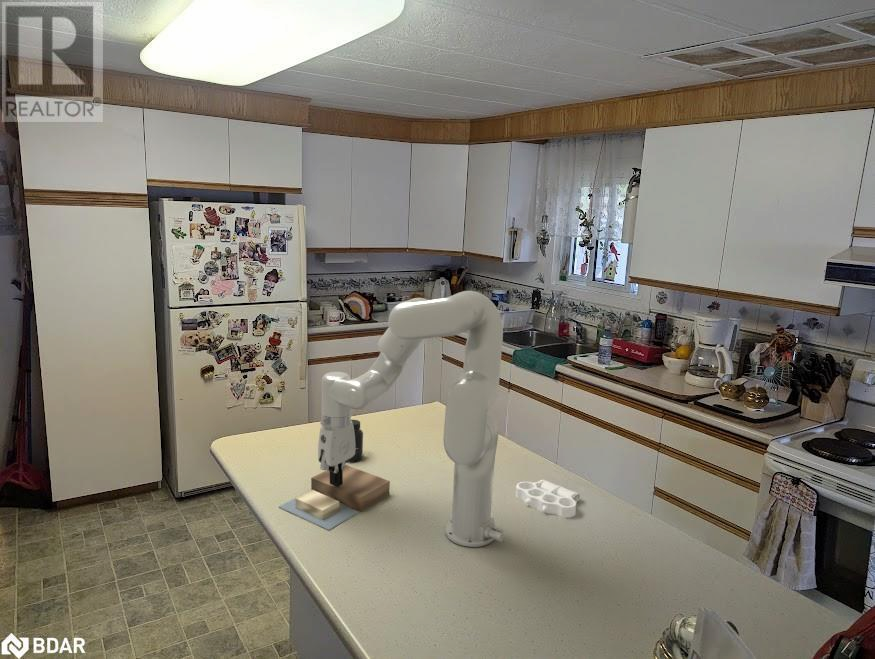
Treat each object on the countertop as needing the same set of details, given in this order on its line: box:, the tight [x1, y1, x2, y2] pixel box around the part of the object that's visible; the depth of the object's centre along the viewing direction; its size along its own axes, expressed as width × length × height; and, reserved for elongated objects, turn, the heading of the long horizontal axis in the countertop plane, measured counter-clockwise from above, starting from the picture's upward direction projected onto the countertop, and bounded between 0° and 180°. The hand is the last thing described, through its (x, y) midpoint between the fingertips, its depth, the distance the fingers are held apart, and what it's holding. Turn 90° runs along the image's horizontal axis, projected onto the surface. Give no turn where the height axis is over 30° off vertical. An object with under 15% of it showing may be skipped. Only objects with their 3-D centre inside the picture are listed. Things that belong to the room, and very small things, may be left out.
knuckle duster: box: [515, 479, 581, 519], centre depth 163 cm, size 3×18×15 cm
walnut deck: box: [310, 464, 391, 513], centre depth 164 cm, size 18×12×4 cm, turn 56°
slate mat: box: [278, 498, 360, 532], centre depth 154 cm, size 18×11×1 cm, turn 56°
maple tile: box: [294, 489, 339, 520], centre depth 154 cm, size 10×6×2 cm, turn 54°
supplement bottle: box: [346, 419, 364, 463], centre depth 185 cm, size 7×7×12 cm
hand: (336, 484), depth 158 cm, fingers closed
